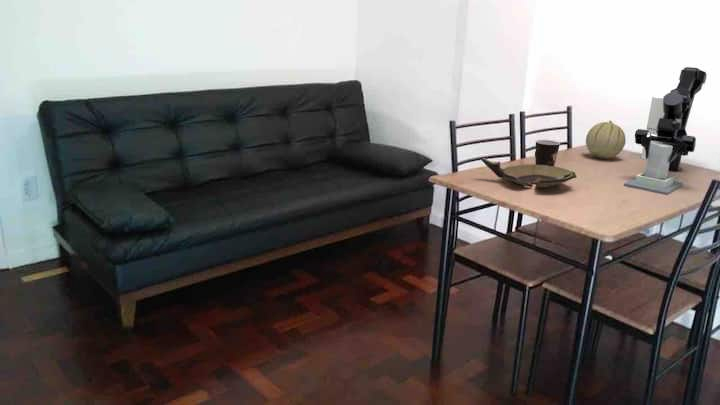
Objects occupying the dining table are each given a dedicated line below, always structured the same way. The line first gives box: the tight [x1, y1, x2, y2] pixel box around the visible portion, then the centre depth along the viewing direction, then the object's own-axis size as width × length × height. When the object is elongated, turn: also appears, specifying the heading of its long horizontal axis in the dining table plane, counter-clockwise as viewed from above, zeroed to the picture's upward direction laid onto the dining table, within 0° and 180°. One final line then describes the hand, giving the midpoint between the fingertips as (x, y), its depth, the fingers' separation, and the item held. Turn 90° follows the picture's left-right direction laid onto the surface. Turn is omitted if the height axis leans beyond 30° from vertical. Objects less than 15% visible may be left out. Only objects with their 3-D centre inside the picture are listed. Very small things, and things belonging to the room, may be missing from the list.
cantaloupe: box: [585, 120, 627, 159], centre depth 244 cm, size 15×15×15 cm
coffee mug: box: [534, 139, 561, 166], centre depth 224 cm, size 12×9×10 cm
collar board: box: [623, 170, 684, 196], centre depth 209 cm, size 18×14×3 cm
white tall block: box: [640, 95, 664, 161], centre depth 245 cm, size 7×7×25 cm
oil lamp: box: [480, 157, 577, 189], centre depth 205 cm, size 22×30×8 cm
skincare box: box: [644, 143, 673, 180], centre depth 207 cm, size 6×4×12 cm
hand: (657, 160), depth 206 cm, fingers closed on skincare box, 7 cm apart
